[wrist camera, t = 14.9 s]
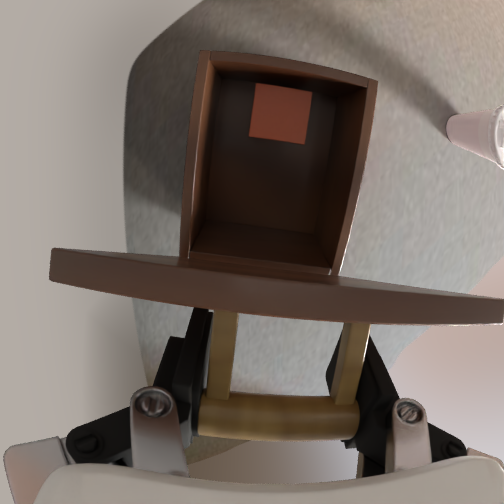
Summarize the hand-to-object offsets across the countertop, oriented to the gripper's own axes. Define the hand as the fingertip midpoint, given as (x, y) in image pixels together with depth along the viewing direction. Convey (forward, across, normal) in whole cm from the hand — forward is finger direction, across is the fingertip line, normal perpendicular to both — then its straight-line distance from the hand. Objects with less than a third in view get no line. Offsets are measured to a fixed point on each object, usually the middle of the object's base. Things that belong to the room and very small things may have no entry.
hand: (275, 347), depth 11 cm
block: (+20, 0, -9) cm, 22 cm away
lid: (+4, 0, -1) cm, 4 cm away
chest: (+20, 0, -5) cm, 21 cm away
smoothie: (+21, -21, -13) cm, 32 cm away
